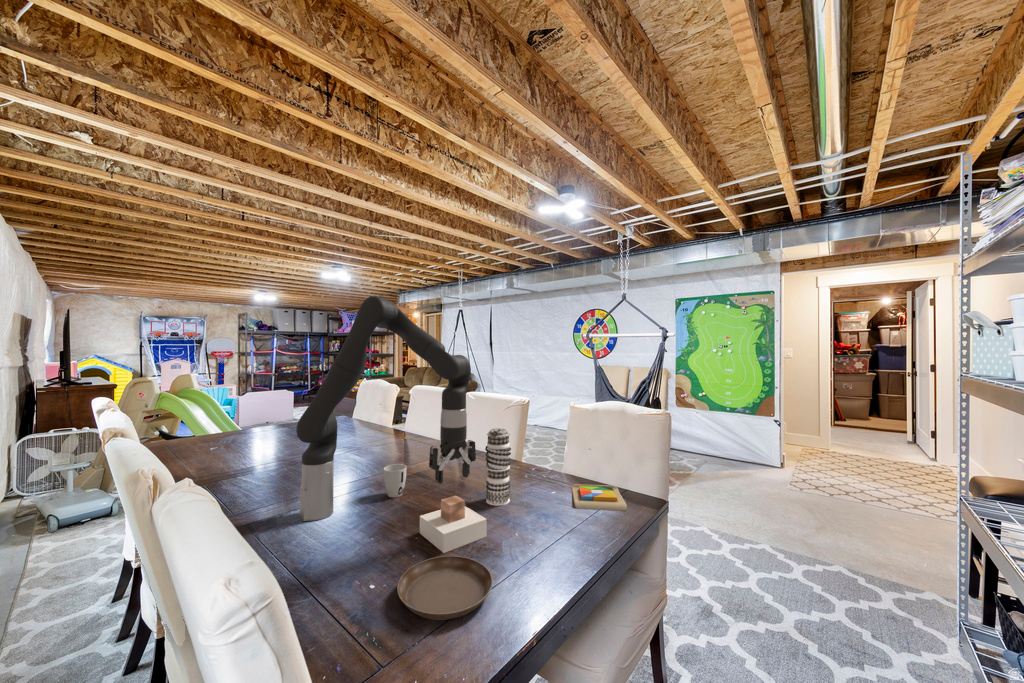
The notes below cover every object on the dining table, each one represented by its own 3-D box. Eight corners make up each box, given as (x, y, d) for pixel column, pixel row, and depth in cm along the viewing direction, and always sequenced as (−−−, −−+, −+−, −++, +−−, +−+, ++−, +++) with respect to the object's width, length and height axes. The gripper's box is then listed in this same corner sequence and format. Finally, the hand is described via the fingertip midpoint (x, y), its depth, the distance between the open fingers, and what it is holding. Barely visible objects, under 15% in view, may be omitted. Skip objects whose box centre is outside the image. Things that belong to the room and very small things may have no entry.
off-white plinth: (443, 553, 102) (443, 534, 102) (419, 533, 113) (419, 515, 113) (486, 536, 111) (486, 519, 111) (460, 519, 122) (460, 503, 122)
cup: (402, 499, 137) (402, 471, 137) (380, 499, 137) (380, 471, 137) (409, 490, 145) (409, 464, 145) (387, 490, 145) (388, 463, 145)
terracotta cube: (449, 523, 108) (449, 505, 108) (440, 517, 112) (440, 499, 112) (464, 518, 112) (464, 500, 112) (455, 512, 115) (455, 495, 115)
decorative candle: (487, 507, 131) (488, 433, 131) (482, 497, 140) (482, 427, 140) (513, 504, 133) (514, 432, 133) (507, 494, 142) (507, 426, 142)
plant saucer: (494, 568, 96) (494, 554, 96) (490, 629, 75) (490, 612, 75) (410, 568, 96) (410, 554, 96) (384, 629, 75) (384, 612, 75)
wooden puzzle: (617, 491, 147) (617, 481, 147) (627, 512, 128) (627, 502, 128) (571, 489, 149) (571, 480, 149) (574, 510, 130) (574, 499, 130)
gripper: (438, 429, 105) (437, 489, 104) (481, 423, 114) (480, 478, 114) (425, 424, 110) (424, 481, 110) (467, 418, 119) (466, 471, 119)
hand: (452, 479), depth 112 cm, fingers open, 8 cm apart
